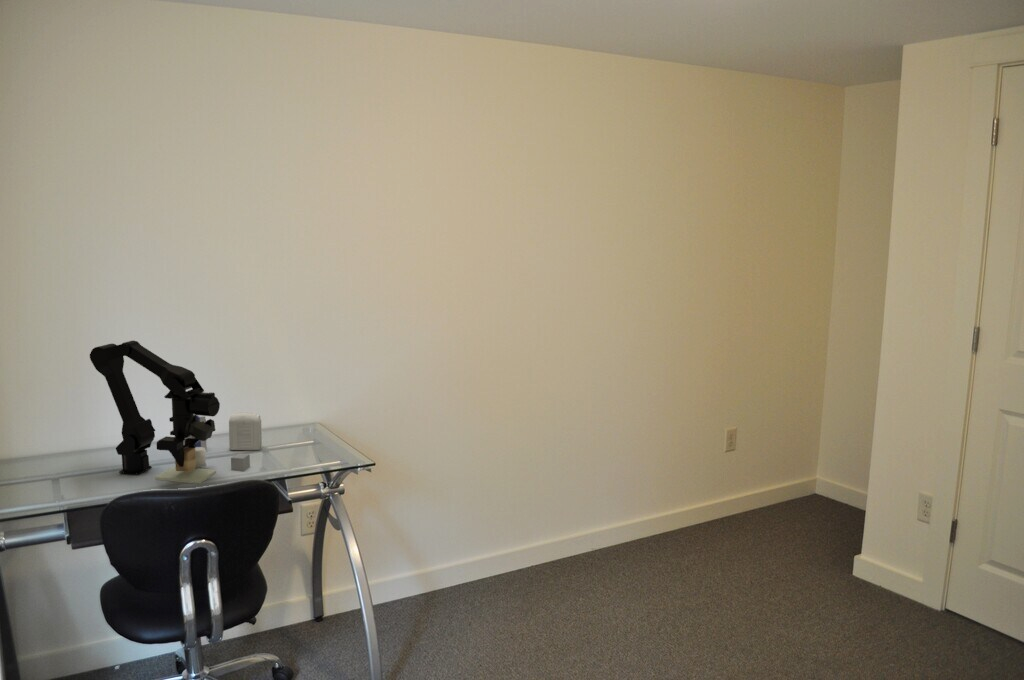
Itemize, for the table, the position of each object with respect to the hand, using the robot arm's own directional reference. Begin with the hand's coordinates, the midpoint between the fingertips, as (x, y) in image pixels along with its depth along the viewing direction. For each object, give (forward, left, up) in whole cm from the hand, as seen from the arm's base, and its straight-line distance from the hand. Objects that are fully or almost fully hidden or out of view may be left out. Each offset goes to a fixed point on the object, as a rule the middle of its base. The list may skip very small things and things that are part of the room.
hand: (185, 464), depth 223 cm
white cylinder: (-2, +10, -4) cm, 11 cm away
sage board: (0, 0, -4) cm, 4 cm away
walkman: (-10, +21, -4) cm, 24 cm away
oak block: (0, 0, -2) cm, 2 cm away
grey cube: (+12, +10, -4) cm, 16 cm away
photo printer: (+5, +27, -4) cm, 28 cm away
